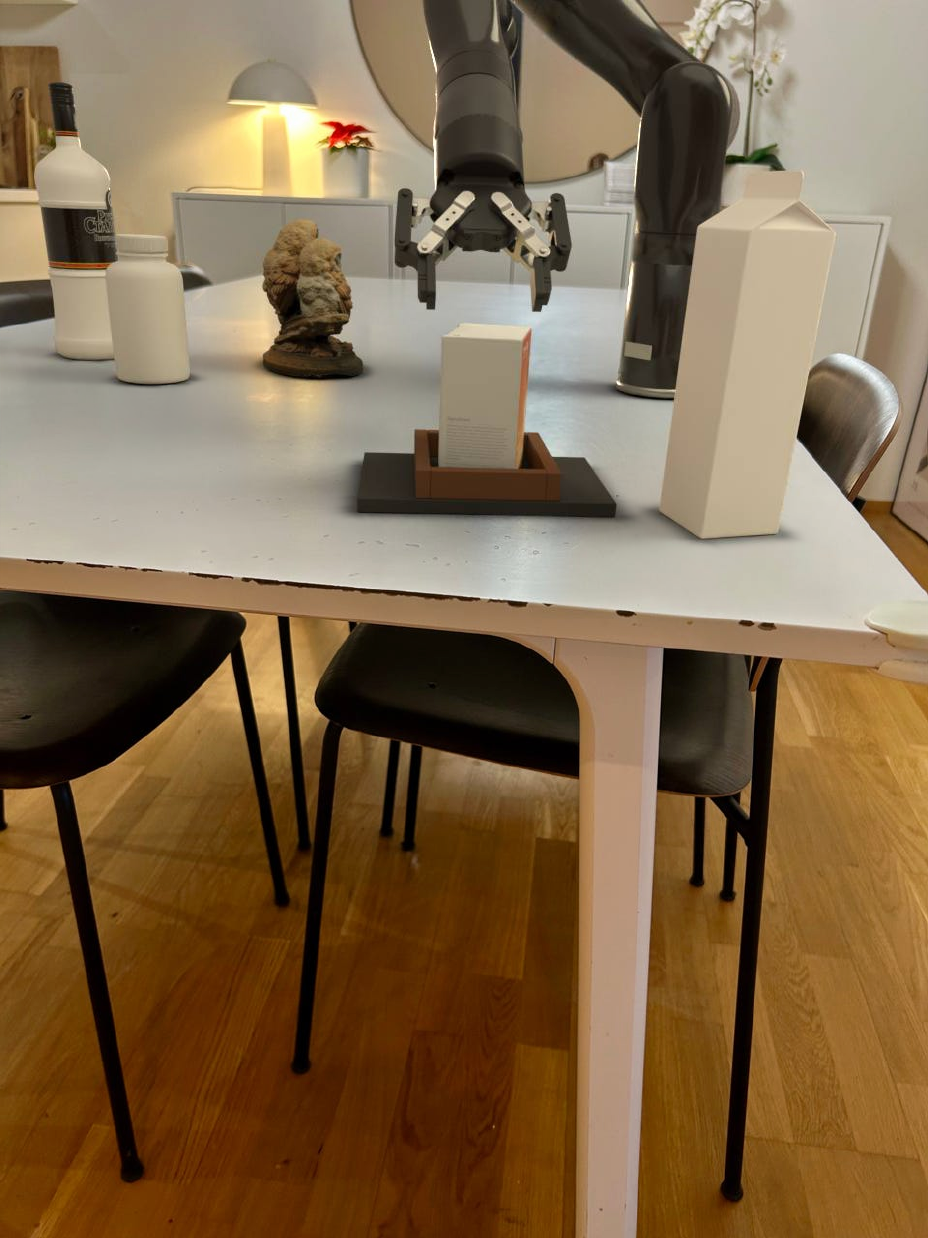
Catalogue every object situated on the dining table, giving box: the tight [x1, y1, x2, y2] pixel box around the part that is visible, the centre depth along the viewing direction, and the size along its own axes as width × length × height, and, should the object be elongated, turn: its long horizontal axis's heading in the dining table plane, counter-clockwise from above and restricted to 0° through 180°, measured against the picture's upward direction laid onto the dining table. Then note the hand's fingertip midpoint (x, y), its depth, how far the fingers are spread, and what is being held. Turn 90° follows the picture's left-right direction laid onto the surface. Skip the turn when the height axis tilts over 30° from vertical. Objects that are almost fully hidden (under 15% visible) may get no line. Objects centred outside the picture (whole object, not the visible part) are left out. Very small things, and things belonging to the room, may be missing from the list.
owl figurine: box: [261, 218, 364, 378], centre depth 109 cm, size 18×12×17 cm, turn 28°
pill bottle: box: [105, 233, 191, 385], centre depth 99 cm, size 8×8×15 cm
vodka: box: [33, 81, 119, 361], centre depth 108 cm, size 9×9×30 cm
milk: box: [658, 170, 837, 540], centre depth 58 cm, size 6×6×22 cm
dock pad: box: [356, 428, 617, 518], centre depth 68 cm, size 18×12×3 cm
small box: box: [438, 322, 533, 469], centre depth 65 cm, size 8×6×10 cm
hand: (484, 304), depth 71 cm, fingers open, 8 cm apart
